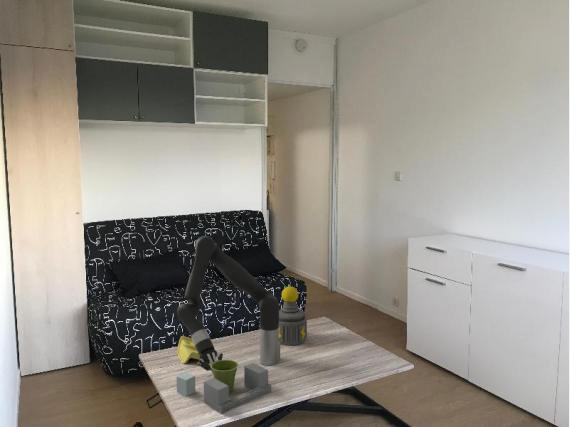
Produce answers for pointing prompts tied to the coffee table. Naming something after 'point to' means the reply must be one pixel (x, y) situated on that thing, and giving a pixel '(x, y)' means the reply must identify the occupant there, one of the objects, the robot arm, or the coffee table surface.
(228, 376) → the plant pot
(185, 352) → the plastic component
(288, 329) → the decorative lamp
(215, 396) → the block
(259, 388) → the rail strip
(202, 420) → the coffee table surface
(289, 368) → the coffee table surface
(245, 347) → the coffee table surface
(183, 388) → the block
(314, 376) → the coffee table surface
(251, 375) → the block
